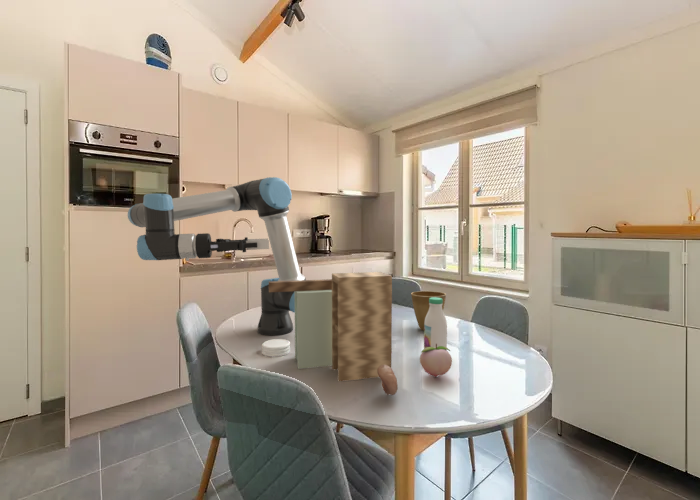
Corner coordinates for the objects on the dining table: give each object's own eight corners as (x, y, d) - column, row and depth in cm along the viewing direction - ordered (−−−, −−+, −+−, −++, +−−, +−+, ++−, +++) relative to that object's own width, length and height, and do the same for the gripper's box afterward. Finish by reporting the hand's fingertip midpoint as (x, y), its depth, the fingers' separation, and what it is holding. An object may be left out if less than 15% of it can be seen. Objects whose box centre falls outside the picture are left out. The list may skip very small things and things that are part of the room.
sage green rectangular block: (298, 369, 107) (297, 293, 106) (295, 357, 117) (294, 288, 116) (335, 365, 110) (335, 291, 109) (329, 354, 120) (329, 286, 119)
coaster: (295, 349, 126) (294, 339, 126) (282, 358, 116) (281, 348, 116) (270, 346, 129) (270, 337, 129) (256, 355, 119) (256, 345, 119)
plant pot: (449, 327, 153) (450, 292, 153) (439, 336, 141) (439, 297, 140) (418, 323, 161) (418, 289, 161) (405, 330, 149) (405, 294, 148)
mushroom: (384, 387, 94) (384, 358, 94) (404, 392, 91) (404, 363, 91) (370, 398, 88) (370, 368, 88) (392, 404, 85) (392, 373, 84)
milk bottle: (447, 352, 122) (448, 296, 121) (445, 360, 114) (446, 301, 113) (425, 350, 124) (425, 295, 123) (422, 357, 117) (423, 299, 116)
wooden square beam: (268, 292, 107) (268, 282, 107) (268, 290, 110) (268, 281, 110) (343, 289, 113) (343, 280, 113) (341, 287, 116) (341, 278, 116)
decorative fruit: (432, 386, 95) (432, 350, 95) (415, 374, 103) (415, 342, 102) (458, 380, 99) (459, 346, 98) (440, 369, 106) (441, 338, 106)
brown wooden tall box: (339, 381, 98) (338, 277, 97) (332, 368, 108) (331, 273, 106) (391, 375, 102) (391, 275, 101) (380, 363, 112) (380, 271, 110)
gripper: (204, 255, 116) (268, 252, 121) (189, 262, 92) (269, 258, 97) (202, 233, 116) (267, 231, 121) (187, 234, 92) (268, 232, 97)
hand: (268, 243), depth 109 cm, fingers open, 13 cm apart
